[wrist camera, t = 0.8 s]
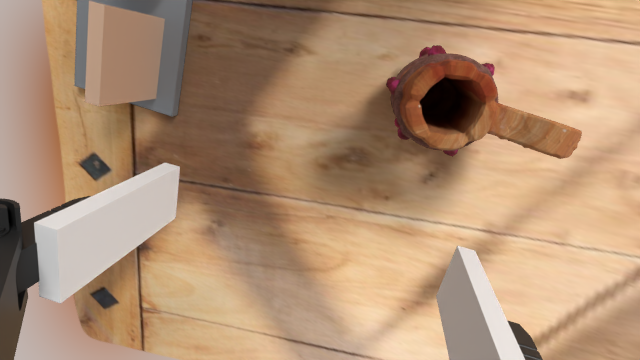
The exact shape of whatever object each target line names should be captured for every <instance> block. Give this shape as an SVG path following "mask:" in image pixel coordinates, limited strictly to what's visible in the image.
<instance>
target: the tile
mask: <svg viewBox="0 0 640 360" xmlns="http://www.w3.org/2000/svg"><path fill="white" fill-rule="evenodd" d="M164 22H165V19H163V18H160V17H157V16H153V15H149V14H145V13H140V12H136V11H132V10H128V9H123V8H119V7H115V6H110V5H106V4H102V3H97V2H93V1H89V12H88V36H87V60H86V84H85V102H87V103H90V104H93V105H96V106H106V105H113V104H121V103H128V102H136V101H144V100H151V99H156V95H157V86H158V77H159V68H160V59H161V50H162V41H163V32H164Z"/></svg>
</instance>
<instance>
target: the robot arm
mask: <svg viewBox="0 0 640 360" xmlns="http://www.w3.org/2000/svg"><path fill="white" fill-rule="evenodd" d="M179 172H180V167H179V166H175V165H172V164H168V163H163V164H161V165H159V166H157V167H154V168H152V169H150V170H148V171H146V172H143V173H141V174H139V175H137V176H135V177H133V178H130V179H128V180H126V181H124V182H122V183H119V184H117V185H115V186H113V187H111V188H109V189H106V190H104V191H102V192H100V193H98V194H96V195H93V196H87V197H83V198H78V199H74V200H71V201H69V202H67V203H65V204H62V205H61V206H58V207H56V208H53V209H51V211H47V212H44V213H42V214H40V215H37V216H35V217H33V218H31V219H28V220H26V221H24V222H22V223H21V216H20V206H19V203H17V202H15V201H13V200H9V199H0V360H14V356H15V352H16V347H17V343H18V338H19V334H20V330H21V326H22V321H23V317H24V312H25V308H26V303H27V299H28V293H27V288H29V287H31V286H32V285H34V284H35V283H37V282H39V295H40V297H43V298H46V299H49V300H52V301H55V302H58V303H62V302H63V301H65V300H66V299H67V298H69V297H70V296H71V295H73V294H74V293H75V292H77V291H78V290H79V289H81V288H82V287H83V286H85V285H86V284H87V283H89V282H90V281H91V280H93V279H94V278H95V277H97V276H98V275H100V274H101V273H102V272H104V271H105V270H106V269H108V268H109V267H110V266H112V265H113V264H114V263H116V262H117V261H118V260H120V259H121V258H122V257H124V256H125V255H126V254H128V253H129V252H130V251H132V250H133V249H134V248H136V247H137V246H139V245H140V244H141V243H143V242H144V241H145V240H147V239H148V238H149V237H151V236H152V235H153V234H155V233H156V232H157V231H159V230H160V229H161V228H163V227H164V226H165V225H167V224H168V223H169V222H171V221H172V220H173V219H175V218H176V207H177V196H178V184H179ZM436 297H437V302H438V307H439V311H440V316H441V321H442V326H443V331H444V335H445V340H446V345H447V350H448V355H449V359H450V360H543V359H542V357H541V355H540V353H539V352H538V351H537V348H536V346H535V344H534V342H533V340H532V338H531V336H530V335H529V334H528V333H527V332H526V331H525V330H524V329H523V328H522V327H521V326H520V324H517V323H514V322H510V321H507V319H506V317H505V315H504V313H503V310H502V308H501V306H500V304H499V302H498V300H497V297H496V295H495V293H494V291H493V289H492V287H491V284H490V282H489V280H488V278H487V276H486V274H485V271H484V269H483V267H482V265H481V263H480V261H479V258H478V256H477V254H476V252H475V251H474V250H471V249H467V248H464V247H460V246H457V248H456V250H455V252H454V255H453V257H452V260H451V262H450V264H449V267H448V269H447V272H446V274H445V276H444V279H443V281H442V283H441V286H440V288H439V291H438V293H437V295H436Z"/></svg>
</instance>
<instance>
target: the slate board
mask: <svg viewBox="0 0 640 360" xmlns="http://www.w3.org/2000/svg"><path fill="white" fill-rule="evenodd" d="M89 1H93V2H97V3H102V4H106V5H110V6H115V7H119V8H123V9H128V10H132V11H136V12H140V13H145V14H149V15H153V16H157V17H160V18H163V19H165V22H164V32H163V41H162V50H161V59H160V68H159V77H158V86H157V95H156V99H151V100H144V101H136V102H128V103H131V104H134V105H137V106H140V107H143V108H147V109H150V110H153V111H156V112H159V113H163V114H166V115H169V116H176V115H178V107H179V99H180V92H181V84H182V77H183V69H184V62H185V54H186V46H187V39H188V31H189V24H190V16H191V9H192V1H193V0H77V23H76V56H75V86H77V87H80V88H83V89H85V84H86V60H87V36H88V12H89Z"/></svg>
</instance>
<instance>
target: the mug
mask: <svg viewBox="0 0 640 360" xmlns="http://www.w3.org/2000/svg"><path fill="white" fill-rule="evenodd" d="M493 75H494V66H493V64H489V63H485V64H482V65H481V64H479V63H478V62H477V61H475V60H473V59H471V58H468V57H466V56H462V55H458V54H446V52H445V50H444V49H443V48H442V47H441V46H438V45H437V46H434V45H433V47H432V48H431V49H430V48H429V47H426V48H424V49H423V50H422V51H421V52H420V56H419V58H418V59H416V60H414V61H412V62H411V63H409V64H408V65H407V66H405V67H404V68H403V69H402V70H401V71H400V73H399V74H398V76H397V77H391V78H389V79H388V80H387V83H386V85H387V87H388V88H389V90H390V92H391V104H392V108H393V111H394V114H395V116H396V119H395V126H396V127H398V128H399V129H398V136H399V137H400V138H401V139H404V140H408V139H409V138H411V139H412V140H413V141H415V142H416V143H418V144H420V145H422V146H425V147H427V148H431V149H435V150H443V152H444V153H445V154H448V155H450V156H454V155H455V154H456V153H457V152H458V149H460V148H462V147H465V146H467V145H469V144H471V143H472V142H474V141H477V140H480V139H481V138H482V137H483V136H485V135H486V134H487V133H488V134H492V135H495V136H497V137H499V138H500V139H507V140H508V141H512V142H514V143H517V144H519V145H522V146H523V147H524V148H530V149H533V150H535V151H538V152H541V153H544V154H547V155H550V156H553V157H557V158H559V159H561V158H567V157H569V156H570V155H571V154H572V152H573V151H574V150H575V149H576V148H577V144H578V142H579V141H580V138H581V134H582V132H581V131H580V130H577V129H575V128H572V127H569V126H567V125H564V124H561V123H558V122H555V121H552V120H548V119H545V118H542V117H539V116H536V115H533V114H530V113H527V112H523V111H521V110H518V109H514V108H511V107H508V106H505V105H502V104H499V103H498V92H497V87H496V85H495V82H494V79H493V77H492V76H493Z"/></svg>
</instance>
